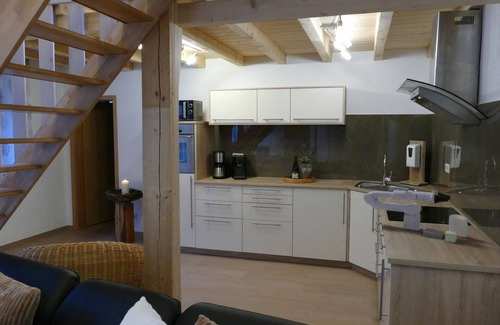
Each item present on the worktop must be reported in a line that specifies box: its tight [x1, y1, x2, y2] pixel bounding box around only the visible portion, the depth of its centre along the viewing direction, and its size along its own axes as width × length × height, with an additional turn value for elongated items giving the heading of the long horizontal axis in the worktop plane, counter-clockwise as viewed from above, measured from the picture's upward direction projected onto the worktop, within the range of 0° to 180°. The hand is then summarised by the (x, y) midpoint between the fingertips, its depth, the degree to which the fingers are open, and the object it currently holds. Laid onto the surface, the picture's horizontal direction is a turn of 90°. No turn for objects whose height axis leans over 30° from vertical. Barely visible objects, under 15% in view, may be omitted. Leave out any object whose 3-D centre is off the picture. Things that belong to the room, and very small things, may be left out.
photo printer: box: [448, 213, 469, 238], centre depth 226 cm, size 10×4×12 cm, turn 29°
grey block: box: [422, 227, 445, 239], centre depth 227 cm, size 10×10×3 cm
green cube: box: [444, 230, 458, 244], centre depth 217 cm, size 5×5×5 cm
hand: (449, 198), depth 227 cm, fingers open, 7 cm apart
